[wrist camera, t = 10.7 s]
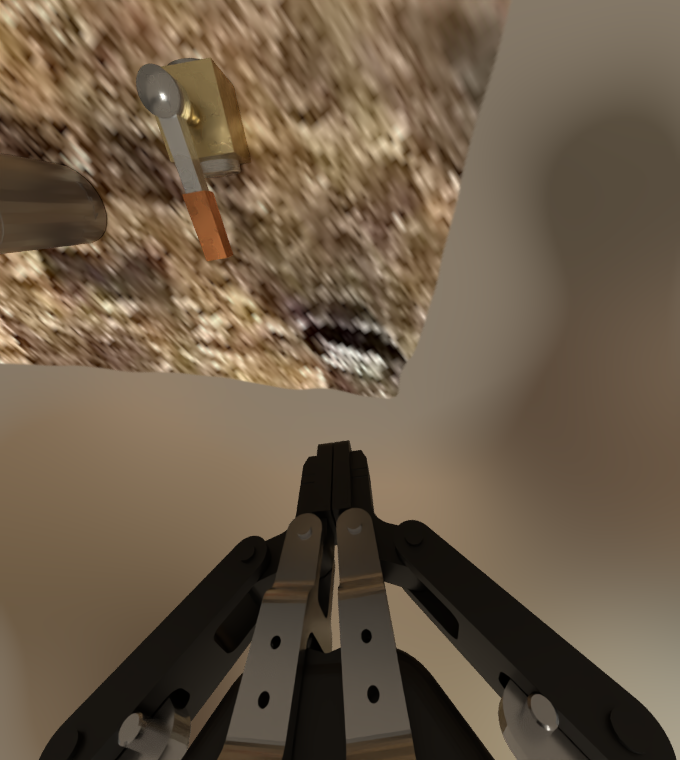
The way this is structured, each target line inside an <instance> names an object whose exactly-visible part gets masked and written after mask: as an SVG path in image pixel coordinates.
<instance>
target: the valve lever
mask: <svg viewBox="0 0 680 760" xmlns="http://www.w3.org/2000/svg"><path fill="white" fill-rule="evenodd" d="M136 86H137V91H138V95H139V97H140V99H141V101H142V103H143V104H144V106H145V107H146V108H147V109H148V110H149V111H150V112H151V113H152V114H154V115H156V116H157V117H158V118H159V120H160V123H161V126H162V129H163V131H164V134H165V137H166V140H167V142H168V145H169V148H170V151H171V153H172V156H173V159H174V162H175V165H176V167H177V170H178V173H179V176H180V178H181V181H182V184H183V187H184V189H185V192H186V194H182V195H183V198H184V201H185V203H186V206H187V209H188V211H189V214H190V217H191V220H192V222H193V225H194V228H195V230H196V233H197V236H198V239H199V241H200V244H201V247H202V249H203V252H204V255H205V258H206V260H207V261H211V260H216V259H222V258H227V257H230V256H232V255H233V253H232V250H231V247H230V243H229V240H228V237H227V234H226V231H225V228H224V225H223V222H222V219H221V215H220V212H219V209H218V206H217V203H216V200H215V197H214V194H213V192H211V191H209V190H208V187H207V184H206V180H205V177H204V174H203V171H202V168H201V165H200V162H199V159H198V156H197V153H196V150H195V147H194V144H193V141H192V138H191V135H190V131H189V128H188V125H187V122H186V121H187V120H188V118H189V116H190V111H191V104H190V100H189V96H188V94H187V92H186V90H185V89H184V87H183V86H182V85H181V84H180V83H179V82H178V81H177V80H176V79H175V78H173V77H172V76H171V75H170V74H169V73H168V72H166V71H165V70H164V69H163V68H161V67H160V66H158V65H155V64H146V65H144V66H142V67H141V68H140V70H139V71H138V74H137V78H136Z"/></svg>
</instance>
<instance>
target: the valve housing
mask: <svg viewBox="0 0 680 760" xmlns="http://www.w3.org/2000/svg"><path fill="white" fill-rule="evenodd" d="M161 68H163V69H164V70H165V71H166V72H168V73H169V74H170V75H171V76H172V77H173V78H175V79H176V80H177V81H178V82H179V83H180V84H181V85H182V86H183V87H184V89H185V90H186V92H187V94H188V96H189V100H190V104H191V111H190V116H189V118H188V120H187V121H186V122H187V125H188V128H189V131H190V135H191V138H192V141H193V144H194V147H195V150H196V153H197V156H198V159H199V162H200V165H201V168H202V171H203V174H204V177H205V178H214V177H224V176H230V175H235V174H238V173H240V172H241V169H240V165H239V164H244V163H250V162H251V159H250V155H249V151H248V146H247V142H246V138H245V133H244V129H243V125H242V120H241V116H240V112H239V107H238V103H237V99H236V94H235V90H234V86H233V85H232V84H231V83H230V81H229V80H228V79H227V78H226V76H225V75H224V74H223V73H222V71H221V70H220V69H219V68H218V66H217V65H216V64H215V63H214V61H213V60H212V59H211V58H206V59H194V58H185V59H179V60H175V61H173V62H171V63H169V64H168V65H167V66H163V67H161ZM155 117H156V120H157V123H158V126H159V129H160V132H161V135H162V138H163V140H164V143H165V146H166V149H167V152H168V155H169V158H170V161H171V163H175V162H174V159H173V156H172V153H171V151H170V148H169V145H168V142H167V140H166V137H165V134H164V131H163V129H162V126H161V123H160V120H159V118H158V117H157V116H156V115H155Z"/></svg>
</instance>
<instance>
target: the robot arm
mask: <svg viewBox="0 0 680 760" xmlns="http://www.w3.org/2000/svg"><path fill="white" fill-rule="evenodd" d="M105 228H106V213H105V208H104V206H103V203H102V201H101V199H100V197H99V195H98V193H97V192H96V191H95V189H94V188H93V187H92V185H91V184H90V183H89V182H88V181H87V180H86V179H85V178H84V177H83V176H81V175H80V174H79V173H77V172H76V171H74V170H73V169H71V168H69V167H67V166H64V165H61V164H57V163H51V162H46V161H40V160H35V159H30V158H24V157H19V156H13V155H7V154H2V153H0V254H5V253H13V252H21V251H29V250H38V249H46V248H54V247H62V246H71V245H79V244H87V243H92V242H95V241H97V240H98V239H99V238H101V237H102V235H103V233H104V232H105ZM335 545H337V546H338V560H339V561H338V562H339V577H340V585H339V587H338V608H339V623H340V643H341V648H339V649H337V650H334V651H332V631H331V612H332V599H333V587H334V574H335V560H334V548H335ZM384 582H387V583H391V584H394V585H397V586H400V587H402V588H403V589H404V591H405V592H406V593H407V594H408V595H409V596H410V597H411V599H412V600H413V601H414V602H415V603H416V604H417V605H418V606H419V607H420V609H421V610H422V611H423V612H424V613H425V614H426V615H427V616H428V617H429V619H430V620H431V621H432V622H433V623H434V624H435V625H436V626H437V627H438V629H439V630H440V631H441V632H442V633H443V634H444V635H445V636H446V637H447V638H448V639H449V641H450V642H451V643H452V644H453V645H454V646H455V647H456V648H457V650H458V651H459V652H460V653H461V654H462V655H463V656H464V657H465V658H466V660H467V661H468V662H469V663H470V664H471V665H472V666H473V667H474V668H475V669H476V671H477V672H478V673H479V674H480V675H481V676H482V677H483V678H484V679H485V681H486V682H487V683H488V684H489V685H490V686H491V687H492V688H493V689H494V691H495V692H496V693H497V694H498V695H499V696H500V697H501V700H500V703H499V710H498V716H499V723H500V728H501V731H502V734H503V737H504V739H505V741H506V743H507V745H508V747H509V748H510V750H511V751H512V753H513V754H514V756H515V757H516V758H517V760H676V756H675V753H674V750H673V748H672V745H671V743H670V741H669V739H668V737H667V735H666V733H665V732H664V730H663V729H662V727H661V726H660V724H659V723H658V721H657V720H656V719H655V717H653V715H652V714H651V713H650V712H649V711H648V709H646V707H645V706H643V704H641V703H640V702H639V701H638V700H637V699H636V698H634V697H633V696H632V695H631V694H630V693H628V692H627V691H626V690H625V689H624V688H622V687H621V686H620V685H619V684H618V683H616V682H615V681H614V680H613V679H612V678H610V677H609V676H608V675H607V674H605V673H604V672H603V671H602V670H601V669H600V668H598V667H597V666H596V665H595V664H593V663H592V662H591V661H590V660H589V659H587V658H586V657H585V656H584V655H583V654H581V653H580V652H579V651H578V650H577V649H575V648H574V647H573V646H572V645H570V644H569V643H568V642H567V641H566V640H564V639H563V638H562V637H561V636H560V635H558V634H557V633H556V632H555V631H554V630H552V629H551V628H550V627H549V626H547V625H546V624H545V623H544V622H542V621H541V620H540V619H539V618H538V617H537V616H535V615H534V614H533V613H532V612H530V611H529V610H528V609H527V608H526V607H524V606H523V605H522V604H521V603H520V602H518V601H517V600H516V599H515V598H514V597H512V596H511V595H510V594H509V593H508V592H506V591H505V590H504V589H503V588H501V587H500V586H499V585H498V584H496V583H495V582H494V581H493V580H492V579H490V578H489V577H488V576H487V575H486V574H485V573H483V572H482V571H481V570H480V569H478V568H477V567H476V566H475V565H474V564H472V563H471V562H470V561H469V560H467V559H466V558H465V557H464V556H463V555H461V554H460V553H459V552H458V551H457V550H456V549H454V548H453V547H452V546H451V545H449V544H448V543H447V542H446V541H445V540H443V539H442V538H441V537H440V536H439V535H437V534H436V533H435V532H434V531H432V530H431V529H430V528H429V527H428V526H426V525H425V524H424V523H422V522H419V521H415V520H408V521H405V522H403V523H401V524H400V525H399V526H398V525H394V524H389V523H386V522H384V521H382V520H380V519H379V518H378V517H377V516H376V515H375V514H374V508H373V499H372V490H371V481H370V475H369V470H368V464H367V458H366V456H365V455H364V454H363V452H362V451H361V450H358V451H352V450H351V446H350V441H349V440H348V441H341V442H335V443H327V444H319V445H318V450H317V456H312V457H309V458H308V459H307V461H306V462H305V464H304V466H303V471H302V479H301V486H300V492H299V499H298V505H297V513H296V517H295V519H294V520H293V521H292V522H291V523H290V524H289V527H288V529H287V530H286V531H285V532H283V533H282V534H280V535H278V536H276V537H273V538H271V539H269V540H267V541H264V539H263V538H261V537H259V536H250V537H248V538H245V539H243V540H242V541H241V542H240V543H238V545H236V546H235V547H234V549H233V550H232V551H231V552H230V553H229V554H228V555H227V556H226V557H225V558H224V559H223V560H222V561H221V562H220V563H219V564H218V565H217V566H216V567H215V568H214V569H213V570H212V571H211V572H210V573H209V574H208V575H207V576H206V578H204V579H203V580H202V581H201V583H199V584H198V586H197V587H196V588H195V589H194V590H193V591H192V592H191V593H190V594H189V595H188V596H187V597H186V598H185V599H184V600H183V601H182V602H181V603H180V604H179V605H178V606H177V607H176V608H175V609H174V610H173V611H172V612H171V613H170V614H169V615H168V617H166V618H165V619H164V620H163V622H162V623H161V624H160V625H159V626H158V627H157V628H156V629H155V630H154V631H153V632H152V633H151V634H150V635H149V636H148V637H147V638H146V639H145V640H144V641H143V642H142V643H141V644H140V645H139V646H138V647H137V648H136V649H135V650H134V651H133V652H132V653H131V654H130V655H129V656H128V657H127V658H126V660H125V661H124V662H123V663H122V664H121V665H120V666H119V667H118V668H117V669H116V670H115V671H114V672H113V673H112V674H111V675H110V676H109V677H108V678H107V679H106V680H105V681H104V682H103V683H102V684H101V685H100V686H99V687H98V688H97V689H96V690H95V691H94V693H92V694H91V696H90V697H89V698H88V699H87V700H86V701H85V702H84V703H83V704H82V705H81V706H80V707H79V708H78V709H77V710H76V711H75V712H74V713H73V714H72V715H71V716H70V717H69V718H68V719H67V720H66V721H65V722H64V723H63V724H62V726H61V727H60V728H59V729H58V730H57V731H56V733H55V734H54V735H53V736H52V738H51V739H50V741H49V742H48V744H47V745H46V747H45V749H44V751H43V752H42V754H41V757H40V759H39V760H495V759H494V758H493V757H492V755H491V754H490V753H489V752H488V750H487V749H486V747H485V746H484V745H483V743H482V742H481V741H480V739H479V738H478V737H477V735H476V734H475V732H474V731H473V730H472V729H471V727H470V726H469V724H468V723H467V722H466V720H465V719H464V718H463V716H462V715H461V714H460V712H459V711H458V710H457V708H456V707H455V706H454V704H453V703H452V702H451V700H450V699H449V698H448V696H447V695H446V694H445V692H444V691H443V689H442V688H441V687H440V685H439V684H438V683H437V681H436V680H435V679H434V677H433V676H432V675H431V673H430V672H429V671H428V670H427V669H426V668H425V667H424V666H423V665H422V664H421V663H420V662H419V661H417V660H416V659H415V658H414V657H412V656H411V655H409V654H408V653H406V652H404V651H402V650H400V649H397V648H396V643H395V637H394V632H393V627H392V621H391V616H390V611H389V606H388V601H387V595H386V589H385V584H384ZM251 641H252V642H251ZM250 642H251V646H250V650H249V653H248V657H247V661H246V665H245V669H244V672H243V673H242V674H241V675H240V676H239V677H238V679H237V680H236V681H235V682H234V683H233V685H232V686H231V688H230V689H229V690H228V692H227V693H226V695H225V696H224V698H223V699H222V701H221V702H220V704H219V705H218V706H217V708H216V710H215V711H214V712H213V714H212V715H211V717H210V718H209V719H208V721H207V722H206V724H205V726H204V727H203V728H202V730H201V731H200V733H199V734H198V736H197V737H196V739H195V740H194V741H193V743H192V744H191V746H190V747H189V749H188V744H189V737H190V731H191V721H192V720H193V718H194V717H195V716H196V714H197V713H198V712H199V710H200V709H201V708H202V706H203V705H204V704H205V702H206V701H207V699H208V698H209V697H210V696H211V694H212V693H213V692H214V690H215V689H216V688H217V686H218V685H219V683H220V682H221V681H222V680H223V678H224V677H225V676H226V674H227V673H228V672H229V670H230V669H231V668H232V666H233V665H234V663H235V662H236V661H237V659H238V658H239V657H240V656H241V654H242V653H243V651H244V650H245V649H246V648H247V646H248V645H249V644H250ZM187 749H188V750H187ZM186 751H187V752H186Z"/></svg>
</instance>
